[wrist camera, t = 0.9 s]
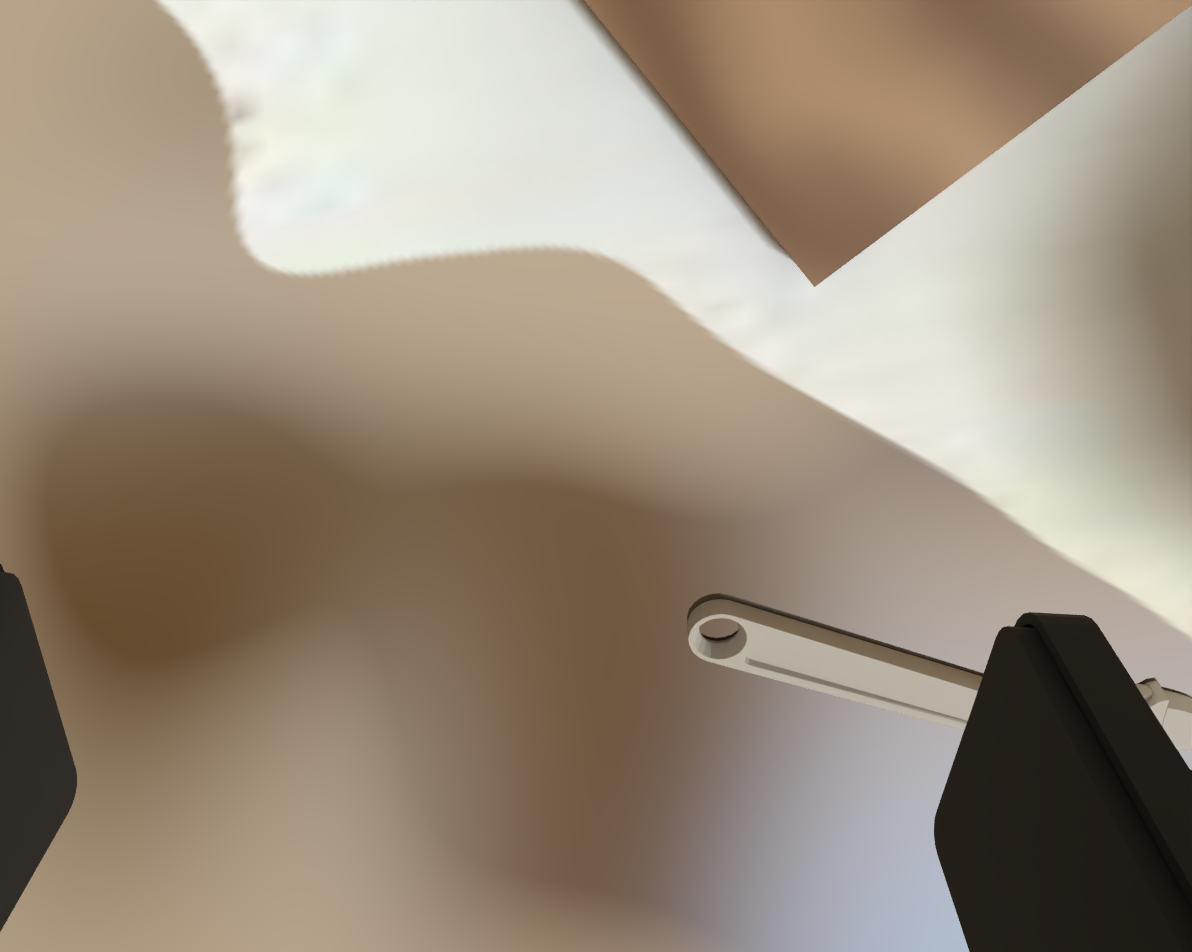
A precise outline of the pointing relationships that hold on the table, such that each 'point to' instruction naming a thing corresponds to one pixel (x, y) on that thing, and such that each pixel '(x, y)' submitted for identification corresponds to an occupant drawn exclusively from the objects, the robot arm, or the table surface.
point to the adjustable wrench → (869, 666)
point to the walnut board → (865, 95)
